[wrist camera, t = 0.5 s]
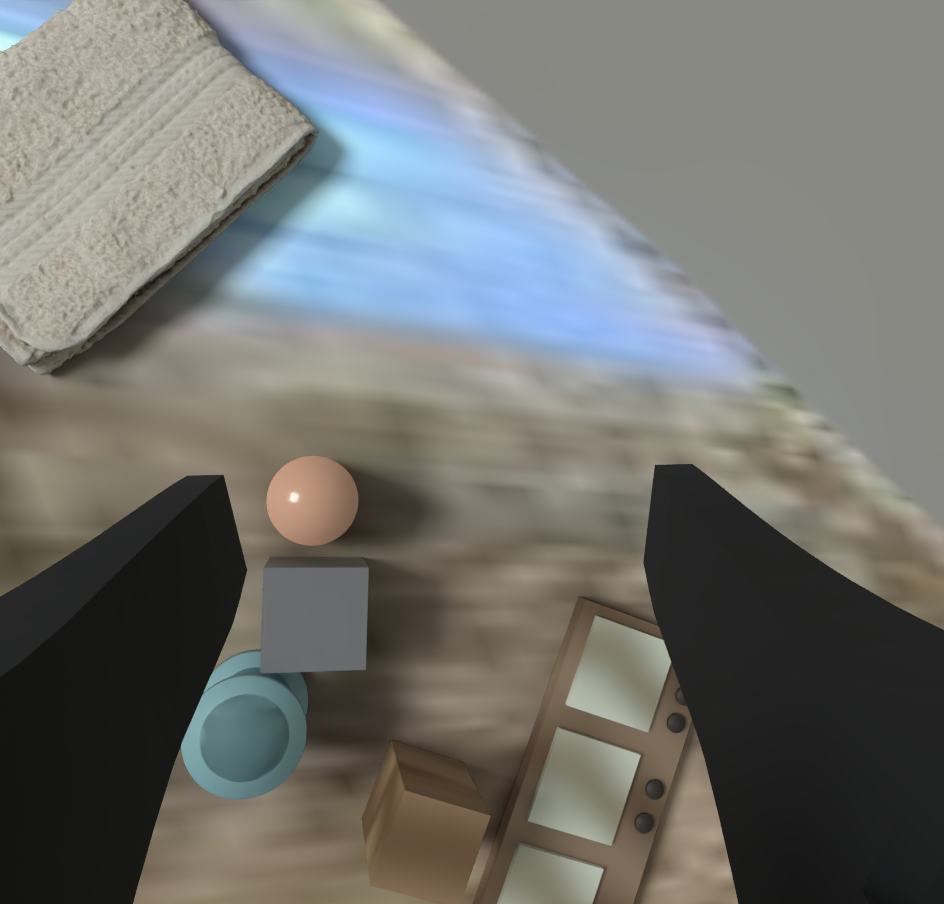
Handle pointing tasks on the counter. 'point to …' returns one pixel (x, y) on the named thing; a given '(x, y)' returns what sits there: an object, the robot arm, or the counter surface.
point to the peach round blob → (312, 500)
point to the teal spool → (246, 729)
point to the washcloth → (122, 165)
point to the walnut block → (423, 825)
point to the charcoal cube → (314, 614)
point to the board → (592, 768)
